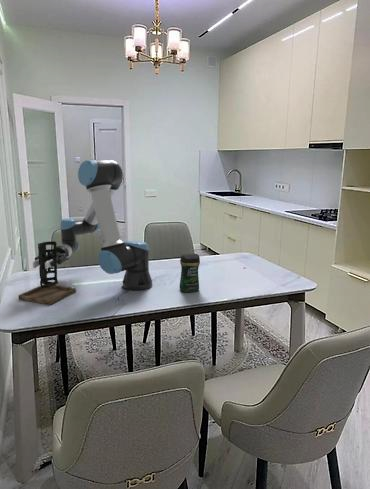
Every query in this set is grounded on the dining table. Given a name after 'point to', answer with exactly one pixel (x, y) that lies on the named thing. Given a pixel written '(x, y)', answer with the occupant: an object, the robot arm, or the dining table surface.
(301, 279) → the dining table surface
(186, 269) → the coffee jar
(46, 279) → the holder
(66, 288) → the tray
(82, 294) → the dining table surface
